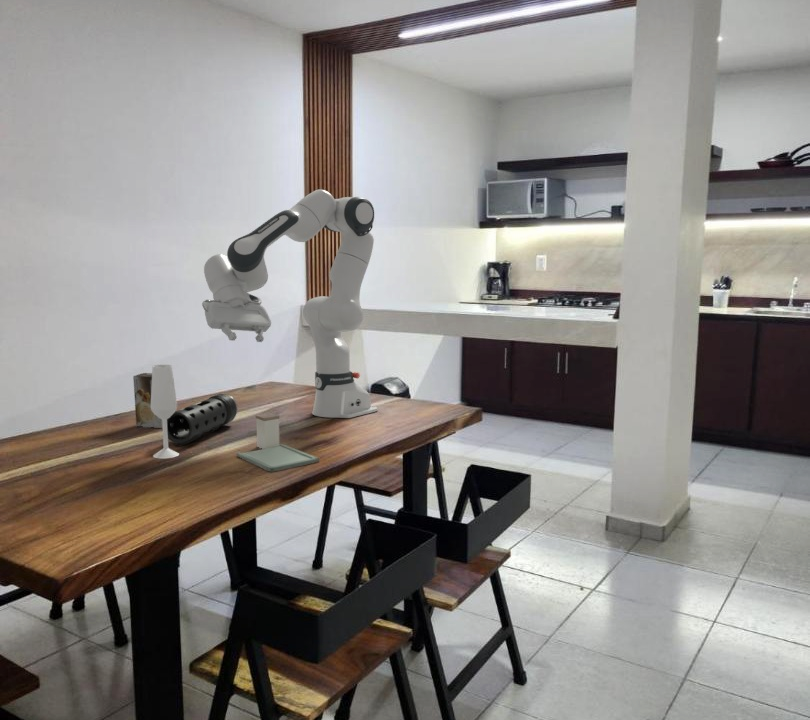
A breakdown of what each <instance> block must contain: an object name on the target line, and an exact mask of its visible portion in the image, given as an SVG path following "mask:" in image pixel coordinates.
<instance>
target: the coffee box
mask: <svg viewBox="0 0 810 720" xmlns="http://www.w3.org/2000/svg"><path fill="white" fill-rule="evenodd" d="M151 388H152V372H143V373H139V374H136V375H133V393H134V408H135V409H134V411H135V422H136V423H135V426H136V427H137V426H143V427H142V428H151V427H154V429H156V428H157V429H163V425H162V419H160V418H158V417H157V416H156V415H155V414H154V413H153V412H152V410H151Z"/></svg>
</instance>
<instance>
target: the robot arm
mask: <svg viewBox="0 0 810 720" xmlns="http://www.w3.org/2000/svg"><path fill="white" fill-rule="evenodd" d="M374 209H375V208H374V206H373V204H372V203H371V201H370V200H368V199H366V198H364V197H362V196H354V197H353V196H346V197H341V198H334V196H333V195H332V194H331V193H330V192H328V191H327V190H325V189H316V190H313V191H312V192H310V193H309V194H306V196H304V197H303V198H301V199H300V200H299V201H298V202H297V203H296V204H294V205H292V207H291V208H290V209H285V210H282V211H281V212H278V213H276V214H274V216H272V217H271V218H269V219H268V220H266V221H265V222H263V223H262V224H261V225H260V226H258V227H256V228H255V229H254V230H252V231H251V232H249V233H247V234H245V235H243V236H241V237H238V238H237V239H235V240H233V241H232V242H231V244H229V246H228V249H227V252H226V253H227V255H224V254H221V253H220V254H215V255H211V257H209V258H208V259H207V260H206V262H205V264H204V266H203V273H204V278H205V281H206V283H207V286H208V289H209V291H210V292H211V293H212V297H213V298H212V300H211V299H205V300H203V301H202V304H201V305H202V309H203V310H204V316H205V320H206V322H207V323H206V324H207V325H208V327H209V328H210V329H212V330H213V329H217V330H221V332H222V333H223V334H225V335H226V337H227V338H228V340H229V341H233V342H234V341H236V339H237V335H236V334H237V333H236V332H235V331H243V332H254V333H256V334H257V335H256V336H255V337H254V338H255V340H256V342H257V343H262V342H263V341H264V339H265V337H264V335H263V334H264V333H265V332H267V331H268V330H269V328H270V327H271V326H272V321H271V318H270V316H269V314H268V312H267V310H266V309H265V306H264V307H263V305H262V303H263V302H262V300H261V298H260V297H259V296H255V295H253V294H250V293H249V292H252V291H256V290H259V289H261V288H263V287H264V286H265V285H266V284H267V282H268V278H269V274H268V273H269V272H268V269H267V265H266V261H265V253H266V251H267V249H268V248H269V247H270V246H271V245H273V244H274V243H275V242H277V241H278V240H279V239H281V238H282V237H283V236H286V237H288V238H289V239H291V240H292V241H294V242H298V243H307V242H308V241H310V240H311V239H313V238H314V237H315V236H316V235H318V233H319V232H320V231H322V230H323V228H324V229H325V230H327V231H329V232H334V233H340V236H341V242H340V245H339V247H338V250H337V252H336V256H335V257H334V260H333V263H332V266H331V268H330V271H329V273H328V277H329V279H330V282H331V287H330V288H331V289H330V294H329V296H323V295H321V296H315V297H313V298H312V297H311V298H310V299H308V300H307V301H306V302H305V304H304V307H303V309H302V315H303V318H304V321H306V323H307V325H308V326H309V330H310V332H311V335H312V338H313V342H314V343H313V344H314V347H315V362H316V363H315V366H316V370H315V372H314V373H315V374H314V384H315V385H314V386H315V398H314V403H313V407H312V408H313V409H312V412H311V414H312V415H314V416H315V417H322V418H332V419H333V418H341V419H351V418H354V417H359V416H362V415H366V414H371V413H374V412H378V410H379V409H378V407H377V406H375V405H373V404H372V402H371V401H372V400H371V396H370V394H369V392H368V391H367V390H366V389H365V388H364V387H362V386H360V385H359V384H358V383H357V382H355V379H360V377H361V374H360V372H356V371H354V372H353V371H351V367H350V363H351V361H350V360H351V359H350V348H349V345H348V344H347V343H346V341H345V339H344V337H343V336H344V335H343V333H347V332H350V331H355V330H357V329H358V328H359V327H360V326H361V324H362V322H363V320H364V311H363V308H362V306H361V303H360V302H361V301H360V295H361V294H360V293H361V289H362V288H361V287H362V284H363V280H364V278H365V276H366V275H365V274H366V272H367V269H368V266H369V264H370V260H371V256H372V253H373V249H374V241H375V239H374V236H373V234H372V233H371V230H372V229H373V226H374V225H373V224H374V220H375V210H374ZM233 331H234V332H233Z"/></svg>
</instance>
